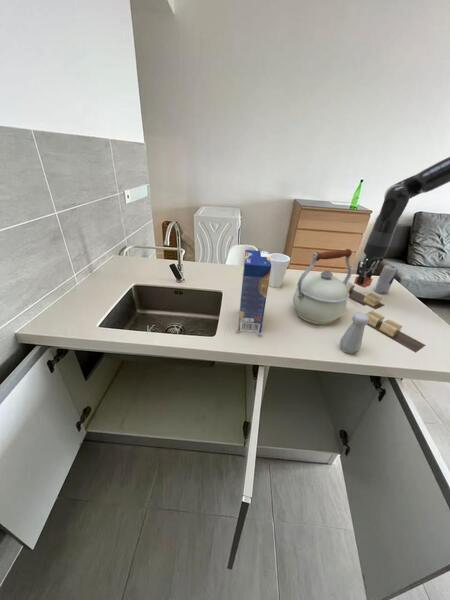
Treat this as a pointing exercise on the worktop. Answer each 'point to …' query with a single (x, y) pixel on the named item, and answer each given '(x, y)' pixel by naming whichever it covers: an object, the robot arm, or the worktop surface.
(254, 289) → the juice carton
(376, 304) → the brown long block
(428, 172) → the robot arm
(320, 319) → the kettle
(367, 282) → the s tile
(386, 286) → the energy drink
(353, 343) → the salt shaker
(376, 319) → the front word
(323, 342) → the worktop surface
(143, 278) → the worktop surface
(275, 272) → the foam cup
